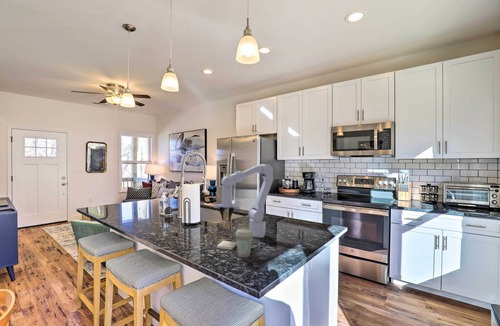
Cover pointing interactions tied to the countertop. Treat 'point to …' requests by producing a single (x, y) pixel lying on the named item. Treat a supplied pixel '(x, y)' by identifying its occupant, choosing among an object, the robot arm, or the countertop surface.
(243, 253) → the coffee cup
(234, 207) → the robot arm
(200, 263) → the countertop surface
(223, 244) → the tile
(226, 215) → the stick
